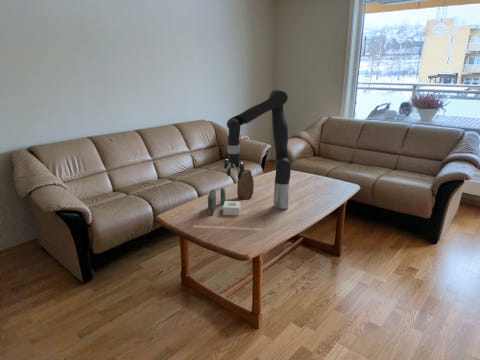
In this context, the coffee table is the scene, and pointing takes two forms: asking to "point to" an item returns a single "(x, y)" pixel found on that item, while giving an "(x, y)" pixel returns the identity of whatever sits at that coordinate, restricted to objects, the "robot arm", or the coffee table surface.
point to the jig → (211, 202)
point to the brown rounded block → (245, 185)
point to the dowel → (222, 196)
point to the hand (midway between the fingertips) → (234, 177)
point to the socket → (231, 208)
